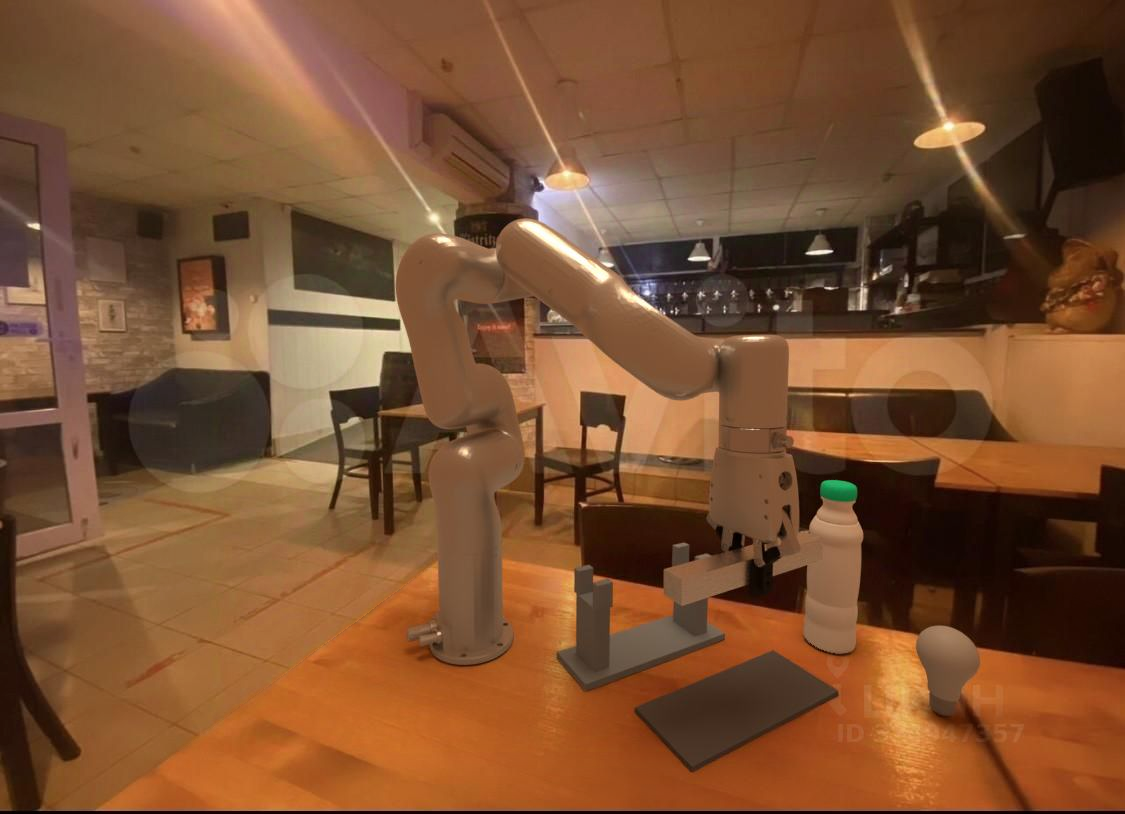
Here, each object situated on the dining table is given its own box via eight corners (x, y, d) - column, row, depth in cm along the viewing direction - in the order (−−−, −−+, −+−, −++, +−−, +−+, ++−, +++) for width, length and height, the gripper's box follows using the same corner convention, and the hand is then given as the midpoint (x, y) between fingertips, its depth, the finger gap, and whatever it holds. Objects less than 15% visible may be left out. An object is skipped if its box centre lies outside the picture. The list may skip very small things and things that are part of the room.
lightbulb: (960, 703, 63) (968, 620, 61) (983, 738, 57) (992, 648, 56) (904, 692, 65) (910, 612, 63) (920, 725, 59) (928, 638, 58)
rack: (585, 691, 65) (586, 593, 63) (557, 658, 72) (557, 568, 70) (724, 639, 76) (728, 555, 75) (688, 615, 83) (691, 538, 82)
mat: (691, 772, 52) (691, 766, 52) (634, 711, 61) (635, 707, 61) (838, 695, 64) (838, 690, 64) (773, 653, 73) (773, 650, 73)
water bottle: (842, 630, 79) (852, 477, 76) (864, 657, 72) (876, 489, 69) (796, 628, 80) (804, 476, 77) (813, 654, 73) (824, 488, 70)
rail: (681, 606, 54) (681, 579, 53) (663, 594, 56) (663, 569, 56) (822, 560, 65) (823, 537, 65) (801, 552, 67) (802, 530, 67)
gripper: (837, 447, 53) (830, 609, 55) (722, 428, 68) (720, 558, 70) (791, 455, 50) (785, 628, 52) (680, 433, 64) (679, 569, 66)
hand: (748, 586), depth 61 cm, fingers closed on rail, 3 cm apart
